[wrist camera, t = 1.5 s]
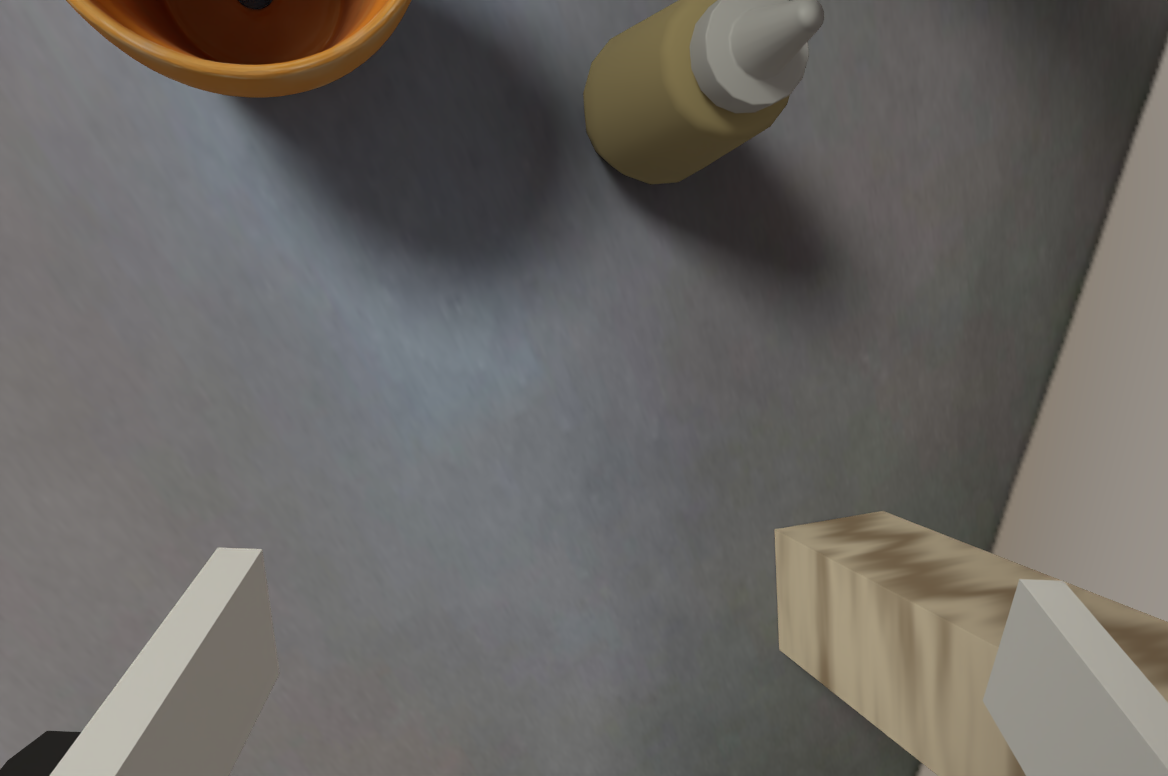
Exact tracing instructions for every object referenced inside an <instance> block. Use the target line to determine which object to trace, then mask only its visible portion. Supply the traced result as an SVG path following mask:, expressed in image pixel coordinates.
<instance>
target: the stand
mask: <svg viewBox="0 0 1168 776" xmlns="http://www.w3.org/2000/svg"><path fill="white" fill-rule="evenodd" d="M775 552H776V578H777V603H778V629H779V650H780V651H782V652H783V653H784V654H785V655H787V656H788V657H789V658H790V659H792V660H793V661H794V662H795V663H797V664H798V665H799V666H800V667H802V668H803V669H804V670H806V671H807V672H808V673H809V674H811V675H812V676H813V677H814V678H816V679H817V680H818V681H819V682H821V683H822V684H823V685H824V686H826V687H827V688H828V689H829V690H831V691H832V692H833V693H835V694H836V695H837V696H838V697H840V698H841V699H842V700H843V701H845V702H846V703H847V704H848V705H850V706H851V707H852V708H853V709H855V710H856V711H857V712H858V713H860V714H861V715H862V716H863V717H865V718H866V719H867V720H869V721H870V722H871V723H872V724H874V725H875V726H876V727H877V728H879V729H880V730H881V731H882V732H884V733H885V734H886V735H887V736H889V737H890V738H891V739H892V740H894V741H895V742H896V743H898V744H899V745H900V746H901V747H903V748H904V749H905V750H906V751H908V752H909V753H910V754H911V755H913V756H914V757H915V758H916V759H918V760H919V761H920V762H921V763H923V764H924V765H925V766H927V767H928V768H929V769H930V770H932V771H933V772H934V773H935V774H937V775H938V776H1026V775H1025V773H1024V771H1023V769H1022V768H1021V766H1020V764H1019V763H1018V761H1017V759H1016V757H1015V756H1014V754H1013V752H1012V751H1011V749H1010V747H1009V745H1008V744H1007V742H1006V740H1005V738H1004V737H1003V735H1002V733H1001V732H1000V730H999V728H998V726H997V725H996V723H995V721H994V720H993V718H992V716H991V714H990V713H989V711H988V709H987V708H986V706H985V704H984V702H983V698H984V694H985V691H986V688H987V685H988V681H989V678H990V675H991V671H992V668H993V665H994V661H995V658H996V655H997V651H998V648H999V645H1000V641H1001V638H1002V635H1003V632H1004V628H1005V625H1006V622H1007V618H1008V615H1009V612H1010V608H1011V605H1012V602H1013V598H1014V595H1015V592H1016V589H1017V585H1018V582H1019V579H1030V580H1055V581H1061V580H1059V579H1056V578H1053V577H1051V576H1048V575H1045V574H1043V573H1041V572H1038V571H1035V570H1033V569H1030V568H1028V567H1025V566H1023V565H1020V564H1018V563H1015V562H1012V561H1010V560H1007V559H1005V558H1002V557H1000V556H997V555H994V554H992V553H989V552H987V551H984V550H982V549H979V548H977V547H974V546H971V545H969V544H966V543H964V542H961V541H959V540H956V539H953V538H951V537H948V536H946V535H943V534H941V533H938V532H935V531H933V530H930V529H928V528H925V527H923V526H920V525H918V524H915V523H912V522H910V521H907V520H905V519H902V518H900V517H897V516H894V515H892V514H889V513H887V512H884V511H880V512H874V513H868V514H862V515H856V516H850V517H845V518H839V519H833V520H827V521H821V522H815V523H809V524H803V525H797V526H792V527H786V528H780V529H775ZM1065 583H1066V582H1065ZM1066 584H1067V586H1068V587H1069V588H1070V589H1071V590H1072V591H1073V593H1074V594H1075V595H1076V596H1077V597H1078V598H1079V600H1080V601H1081V602H1082V603H1083V604H1084V605H1085V607H1086V608H1087V609H1088V610H1089V611H1090V612H1091V614H1092V615H1093V616H1094V617H1095V618H1096V619H1097V621H1098V622H1099V623H1100V624H1101V625H1102V626H1103V628H1104V629H1105V630H1106V631H1107V632H1108V633H1109V635H1110V636H1111V637H1112V638H1113V639H1114V640H1115V642H1116V643H1117V644H1118V645H1119V646H1120V647H1121V649H1122V650H1123V651H1124V652H1125V653H1126V654H1127V655H1128V657H1129V658H1130V659H1131V660H1132V661H1133V662H1134V664H1135V665H1136V666H1137V667H1138V668H1139V669H1140V671H1141V672H1142V673H1143V674H1144V675H1145V676H1146V678H1147V679H1148V680H1149V681H1150V682H1151V683H1152V685H1153V686H1154V687H1155V688H1156V689H1157V690H1158V692H1159V693H1160V694H1161V695H1162V696H1163V697H1164V699H1165V700H1166V701H1167V702H1168V622H1166V621H1164V620H1161V619H1159V618H1156V617H1153V616H1151V615H1148V614H1146V613H1143V612H1141V611H1138V610H1135V609H1133V608H1130V607H1128V606H1125V605H1123V604H1120V603H1117V602H1115V601H1112V600H1110V599H1107V598H1104V597H1102V596H1100V595H1097V594H1094V593H1092V592H1089V591H1087V590H1084V589H1081V588H1079V587H1077V586H1074V585H1071V584H1069V583H1066Z"/></svg>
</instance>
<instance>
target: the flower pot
mask: <svg viewBox="0 0 1168 776" xmlns="http://www.w3.org/2000/svg"><path fill="white" fill-rule="evenodd" d="M66 1H67V2H68V3H69V4H70V5H71V6H72V7H73V8H74V9H75V11H76V12H78V13H79V14H80V15H81V16H82V17H83V18H84V19H85V20H86V21H87V22H88V23H89V24H90V25H91V26H92V27H93V28H95V29H96V30H97V31H98V32H99V33H100V34H101V35H103V36H104V37H105V38H106V39H107V40H108V41H110V42H111V43H113V44H114V45H115V46H117V47H118V48H119V49H121V50H122V51H123V52H125V53H126V54H128V55H129V56H130V57H132V58H133V59H135V60H136V61H138V62H140V63H141V64H143V65H145V66H147V67H148V68H150V69H152V70H154V71H156V72H158V73H160V74H162V75H164V76H166V77H168V78H170V79H173V80H175V81H178V82H180V83H183V84H186V85H188V86H191V87H194V88H198V89H201V90H205V91H209V92H213V93H218V94H223V95H230V96H239V97H278V96H285V95H291V94H296V93H301V92H305V91H309V90H312V89H315V88H318V87H321V86H324V85H326V84H329V83H331V82H333V81H335V80H338V79H340V78H341V77H343V76H345V75H347V74H348V73H350V72H351V71H353V70H354V69H356V68H357V67H358V66H360V65H361V64H363V63H364V62H365V61H367V60H368V59H369V58H370V57H371V56H372V55H373V54H374V53H376V52H377V51H378V50H379V49H380V48H381V46H382V45H383V44H384V43H385V42H386V41H387V39H388V38H389V37H390V36H391V34H392V33H393V32H394V30H395V29H396V27H397V26H398V24H399V23H400V21H401V19H402V18H403V16H404V14H405V12H406V10H407V8H408V6H409V4H410V2H411V0H272V1H271V3H270V4H269V5H268V6H267V7H265V8H262V9H250V8H248V7H245V6H244V5H242V4H241V3H240V2H239V1H238V0H66Z"/></svg>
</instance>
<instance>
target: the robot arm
mask: <svg viewBox="0 0 1168 776" xmlns="http://www.w3.org/2000/svg"><path fill="white" fill-rule="evenodd" d="M279 674H280V672H279V665H278V658H277V651H276V644H275V637H274V630H273V623H272V615H271V608H270V601H269V594H268V587H267V580H266V573H265V566H264V559H263V552H262V549H242V548H217V549H216V551H215V552H214V553H213V555H212V556H211V558H210V559H209V560H208V562H207V563H206V564H205V566H204V567H203V568H202V570H201V571H200V572H199V574H198V575H197V576H196V578H195V579H194V581H193V582H192V583H191V585H190V586H189V587H188V589H187V590H186V591H185V593H184V594H183V595H182V597H181V598H180V600H179V601H178V602H177V604H176V605H175V606H174V608H173V609H172V610H171V612H170V613H169V614H168V616H167V617H166V618H165V620H164V621H163V623H162V624H161V625H160V627H159V628H158V629H157V631H156V632H155V633H154V635H153V636H152V637H151V639H150V640H149V641H148V643H147V644H146V646H145V647H144V648H143V650H142V651H141V652H140V654H139V655H138V656H137V658H136V659H135V660H134V662H133V663H132V665H131V666H130V667H129V669H128V670H127V671H126V673H125V674H124V675H123V677H122V678H121V679H120V681H119V682H118V683H117V685H116V686H115V688H114V689H113V690H112V692H111V693H110V694H109V696H108V697H107V698H106V700H105V701H104V702H103V704H102V705H101V706H100V708H99V709H98V711H97V712H96V713H95V715H94V716H93V717H92V719H91V720H90V721H89V723H88V724H87V725H86V727H85V728H84V730H83V731H82V732H63V731H46V732H45V733H44V734H42V735H41V736H40V737H38V738H37V739H36V740H34V741H33V742H32V743H30V744H29V745H28V746H26V747H25V748H24V749H22V750H21V751H20V752H18V753H17V754H16V755H14V756H13V757H12V758H10V759H9V760H8V761H7V762H6V763H5V765H4V766H3V767H2V768H1V769H0V776H229V775H230V773H231V771H232V769H233V767H234V765H235V763H236V761H237V759H238V757H239V755H240V753H241V751H242V749H243V746H244V744H245V742H246V740H247V738H248V736H249V734H250V732H251V730H252V728H253V726H254V724H255V722H256V720H257V718H258V716H259V714H260V712H261V710H262V708H263V706H264V704H265V702H266V700H267V698H268V696H269V694H270V692H271V690H272V688H273V686H274V684H275V682H276V680H277V678H278V676H279ZM983 702H984V704H985V706H986V708H987V709H988V711H989V713H990V714H991V716H992V718H993V720H994V721H995V723H996V725H997V726H998V728H999V730H1000V732H1001V733H1002V735H1003V737H1004V738H1005V740H1006V742H1007V744H1008V745H1009V747H1010V749H1011V751H1012V752H1013V754H1014V756H1015V757H1016V759H1017V761H1018V763H1019V764H1020V766H1021V768H1022V769H1023V771H1024V773H1025V775H1026V776H1168V702H1167V701H1166V700H1165V699H1164V697H1163V696H1162V695H1161V694H1160V693H1159V692H1158V690H1157V689H1156V688H1155V687H1154V686H1153V685H1152V683H1151V682H1150V681H1149V680H1148V679H1147V678H1146V676H1145V675H1144V674H1143V673H1142V672H1141V671H1140V669H1139V668H1138V667H1137V666H1136V665H1135V664H1134V662H1133V661H1132V660H1131V659H1130V658H1129V657H1128V655H1127V654H1126V653H1125V652H1124V651H1123V650H1122V649H1121V647H1120V646H1119V645H1118V644H1117V643H1116V642H1115V640H1114V639H1113V638H1112V637H1111V636H1110V635H1109V633H1108V632H1107V631H1106V630H1105V629H1104V628H1103V626H1102V625H1101V624H1100V623H1099V622H1098V621H1097V619H1096V618H1095V617H1094V616H1093V615H1092V614H1091V612H1090V611H1089V610H1088V609H1087V608H1086V607H1085V605H1084V604H1083V603H1082V602H1081V601H1080V600H1079V598H1078V597H1077V596H1076V595H1075V594H1074V593H1073V591H1072V590H1071V589H1070V588H1069V587H1068V586H1067V584H1066V583H1065V582H1064V581H1055V580H1030V579H1019V582H1018V585H1017V589H1016V592H1015V595H1014V598H1013V602H1012V605H1011V608H1010V612H1009V615H1008V618H1007V622H1006V625H1005V628H1004V632H1003V635H1002V638H1001V641H1000V645H999V648H998V651H997V655H996V658H995V661H994V665H993V668H992V671H991V675H990V678H989V681H988V685H987V688H986V691H985V694H984V698H983Z"/></svg>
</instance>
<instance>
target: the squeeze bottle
mask: <svg viewBox="0 0 1168 776" xmlns="http://www.w3.org/2000/svg"><path fill="white" fill-rule="evenodd" d="M823 20H824V11H823V8H822V6H821V4H820V3H819V2H818V1H817V0H794V1H789V0H679V1H677V2H675V3H673V4H671V5H670V6H668V7H666V8H664V9H663V10H661V11H659V12H657V13H656V14H654V15H652V16H650V17H649V18H647V19H645V20H643V21H642V22H640V23H638V24H636V25H634V26H633V27H631V28H629V29H627V30H626V31H624V32H622V33H620V34H619V35H617V36H615V37H613V38H612V39H610V40H609V42H608V43H607V44H606V45H605V47H604V48H603V49H602V50H601V52H600V53H599V54H598V55H597V57H596V58H595V59H594V61H593V62H592V64H591V67H590V71H589V75H588V78H587V82H586V85H585V89H584V93H583V95H584V112H585V122H586V132H587V134H588V136H589V138H590V141H591V143H592V145H593V147H594V149H595V151H596V152H597V153H598V154H599V155H600V156H601V157H602V158H603V159H604V160H605V161H607V162H608V163H609V164H610V165H611V166H612V167H614V168H615V169H616V170H618V171H619V172H620V173H622V174H623V175H626V176H629V177H631V178H634V179H637V180H640V181H642V182H645V183H648V184H662V183H675V182H679V181H681V180H683V179H685V178H687V177H688V176H690V175H692V174H694V173H696V172H697V171H699V170H701V169H703V168H704V167H706V166H708V165H709V164H711V163H712V162H714V161H716V160H717V159H719V158H720V157H722V156H724V155H725V154H727V153H728V152H730V151H732V150H733V149H735V148H736V147H738V146H740V145H741V144H743V143H744V142H746V141H748V140H749V139H751V138H752V137H754V136H756V135H757V134H759V133H761V132H762V131H764V130H765V129H767V128H769V127H770V126H771V125H772V124H773V122H774V121H775V120H776V118H777V117H778V116H779V114H780V113H781V112H782V110H783V109H784V108H785V106H786V105H787V103H788V99H789V95H790V94H791V93H792V91H793V90H794V89H795V87H796V86H797V85H798V83H799V82H800V81H801V80H802V78H803V75H804V71H805V68H806V64H807V61H808V57H809V52H808V40H809V39H810V38H811V37H812V36H813V35H814V34H815V33H816V32H817V30H818V29H819V28H820V27H821V25H822V24H823Z"/></svg>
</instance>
